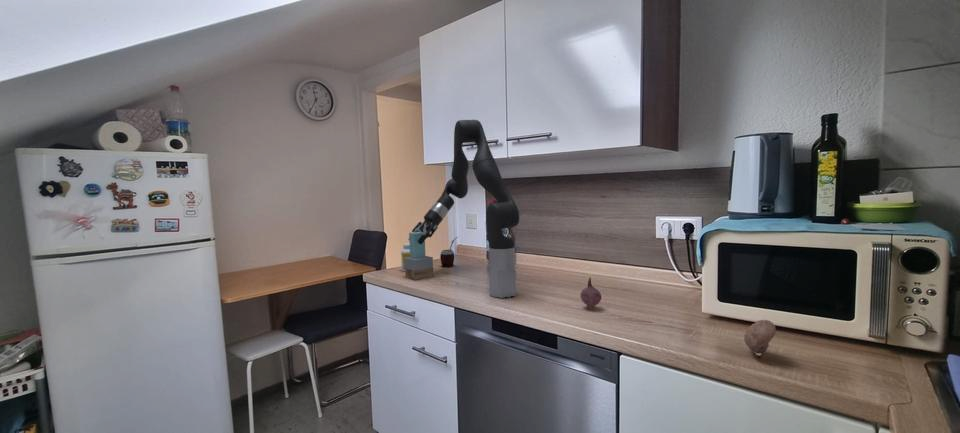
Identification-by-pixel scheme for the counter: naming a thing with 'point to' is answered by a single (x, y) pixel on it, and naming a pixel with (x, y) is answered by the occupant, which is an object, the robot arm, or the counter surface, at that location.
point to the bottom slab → (419, 274)
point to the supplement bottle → (405, 254)
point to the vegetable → (590, 295)
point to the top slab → (418, 263)
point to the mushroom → (759, 335)
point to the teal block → (416, 245)
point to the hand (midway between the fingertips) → (414, 242)
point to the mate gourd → (447, 257)
